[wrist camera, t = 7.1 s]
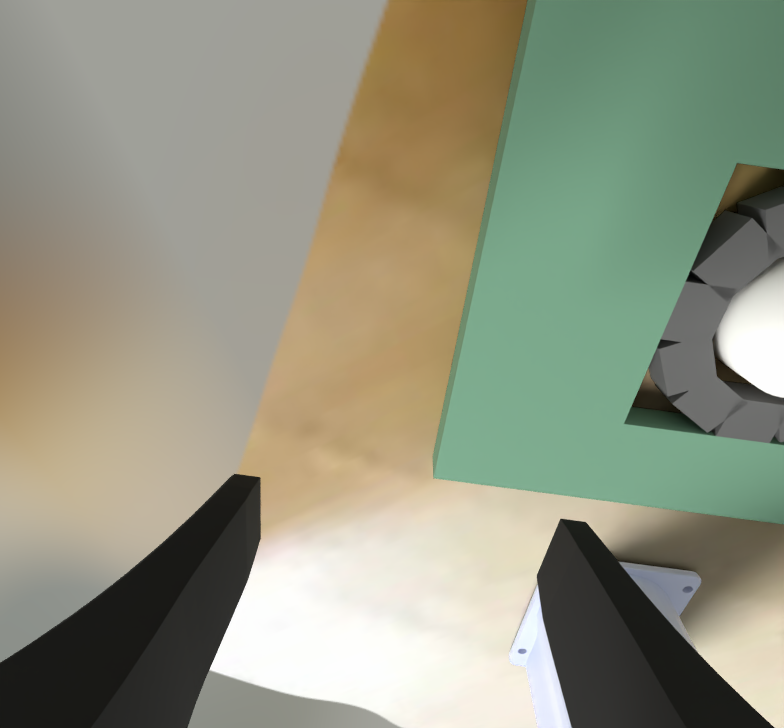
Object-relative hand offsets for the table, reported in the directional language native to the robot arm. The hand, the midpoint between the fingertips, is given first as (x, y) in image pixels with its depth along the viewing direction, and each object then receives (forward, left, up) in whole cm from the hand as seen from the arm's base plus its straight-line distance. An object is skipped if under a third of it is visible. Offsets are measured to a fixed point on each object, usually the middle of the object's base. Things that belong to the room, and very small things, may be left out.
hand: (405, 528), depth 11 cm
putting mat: (+4, -11, -9) cm, 15 cm away
